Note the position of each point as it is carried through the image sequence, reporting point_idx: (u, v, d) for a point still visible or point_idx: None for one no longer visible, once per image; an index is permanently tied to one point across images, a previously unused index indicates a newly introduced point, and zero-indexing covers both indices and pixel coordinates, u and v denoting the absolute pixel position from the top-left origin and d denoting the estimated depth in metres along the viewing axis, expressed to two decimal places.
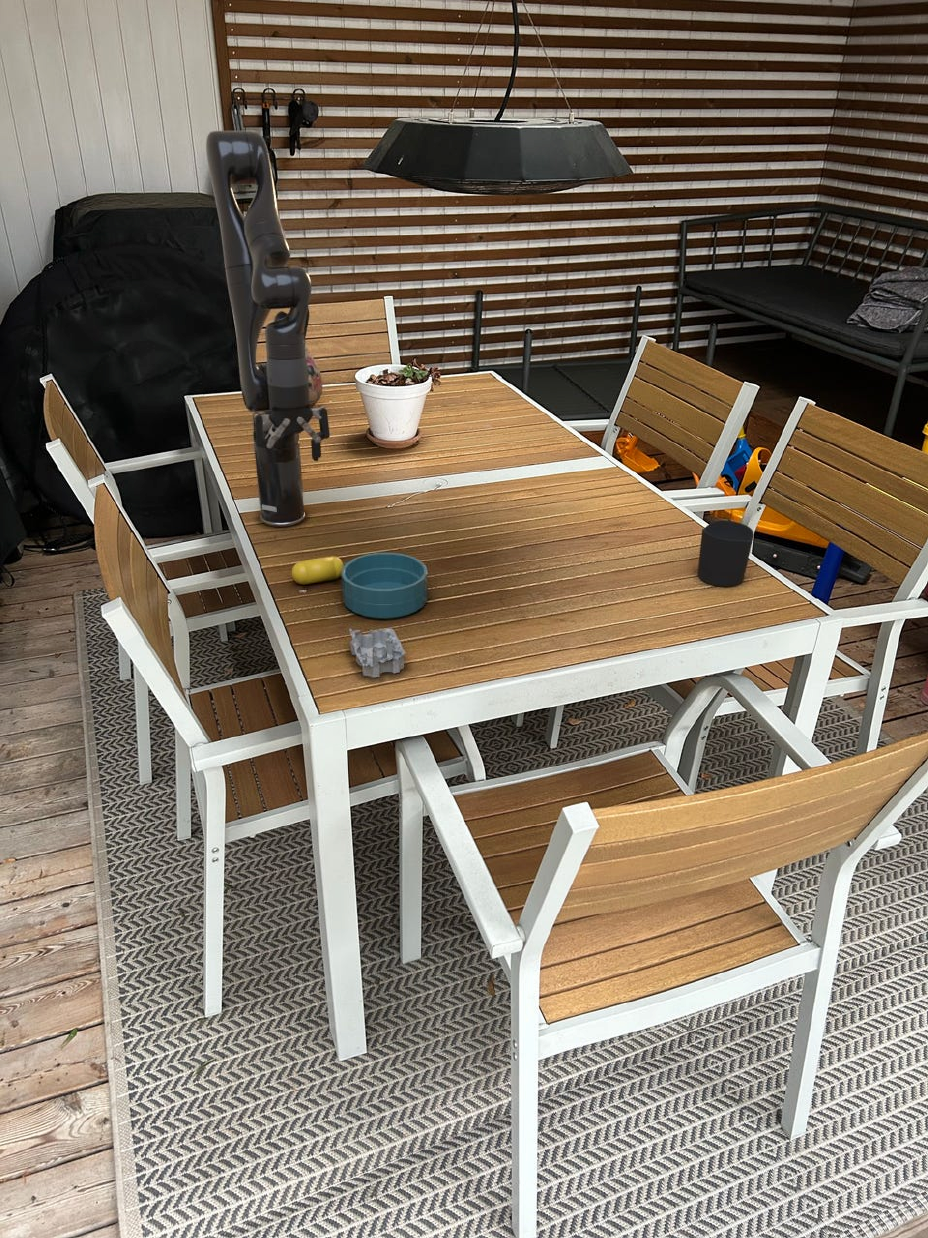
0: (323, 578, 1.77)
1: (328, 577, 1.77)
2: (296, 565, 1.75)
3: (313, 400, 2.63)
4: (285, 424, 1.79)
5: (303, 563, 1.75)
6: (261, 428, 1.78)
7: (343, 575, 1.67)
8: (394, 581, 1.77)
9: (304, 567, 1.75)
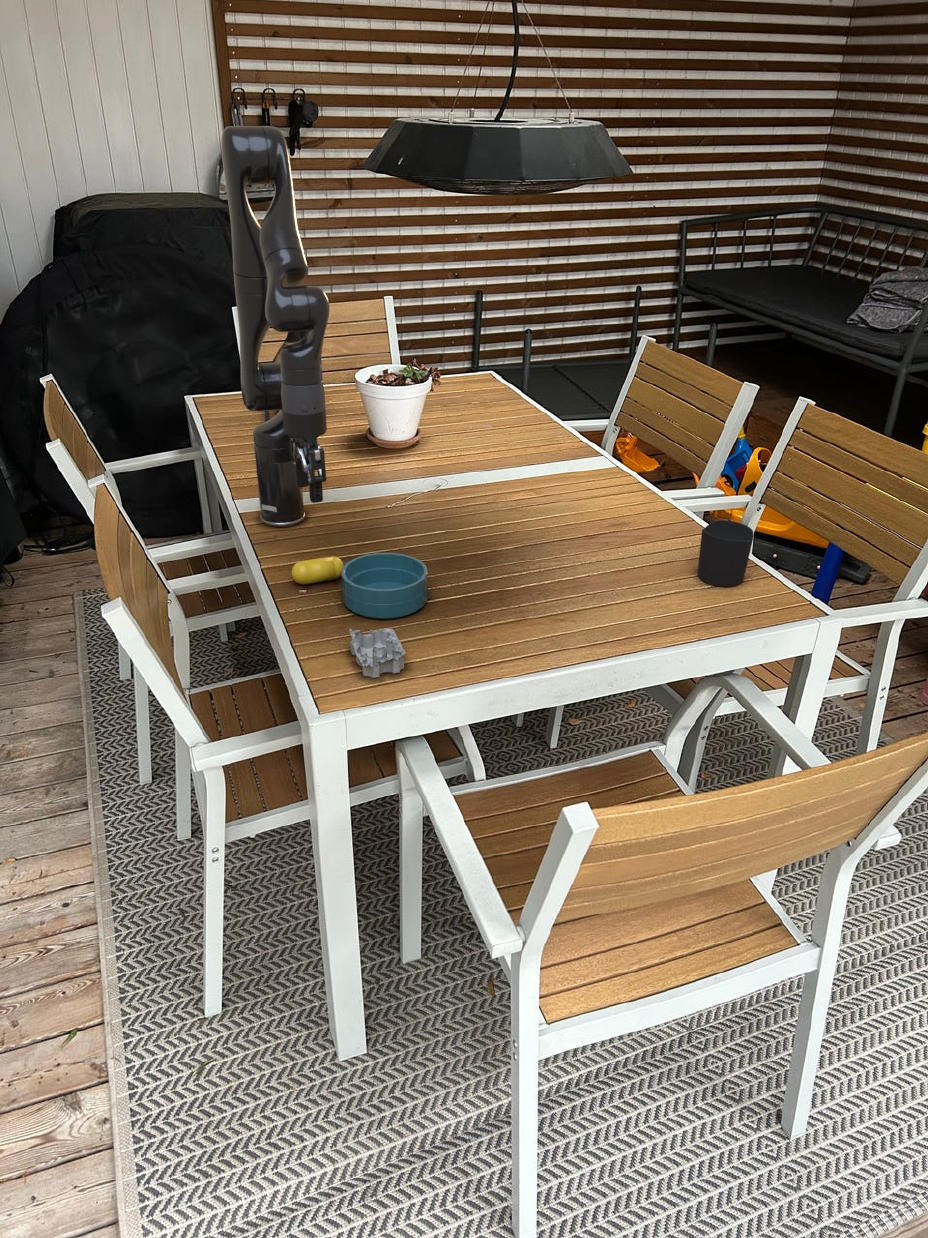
0: (323, 578, 1.77)
1: (328, 577, 1.77)
2: (296, 565, 1.75)
3: None
4: (293, 448, 1.70)
5: (303, 563, 1.75)
6: (291, 443, 1.74)
7: (343, 575, 1.67)
8: (394, 581, 1.77)
9: (304, 567, 1.75)
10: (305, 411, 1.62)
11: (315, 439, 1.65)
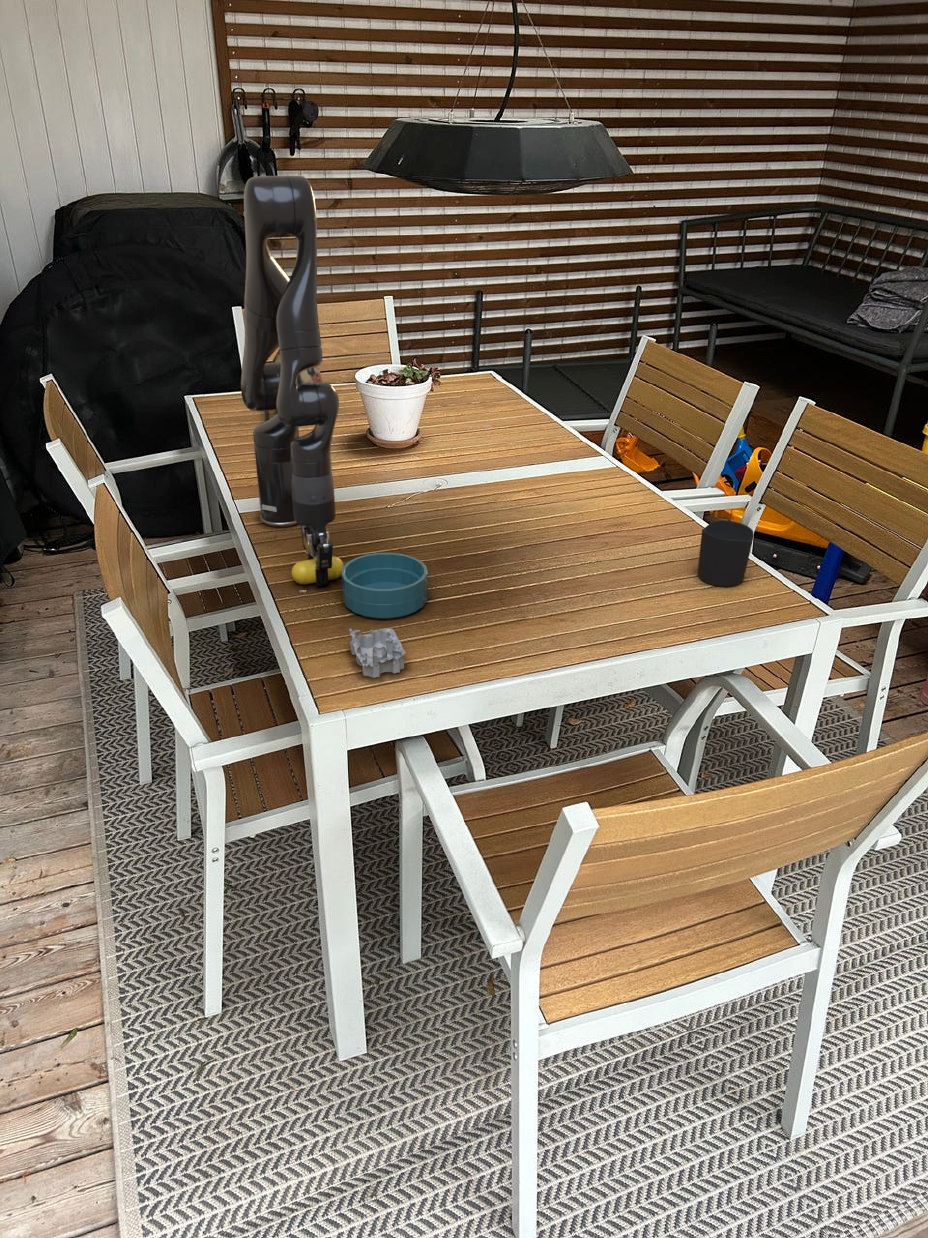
0: None
1: (328, 577, 1.77)
2: (296, 565, 1.75)
3: None
4: (303, 533, 1.74)
5: (303, 563, 1.75)
6: (302, 531, 1.78)
7: (343, 575, 1.67)
8: (394, 581, 1.77)
9: (304, 567, 1.75)
10: (314, 501, 1.67)
11: (324, 527, 1.70)
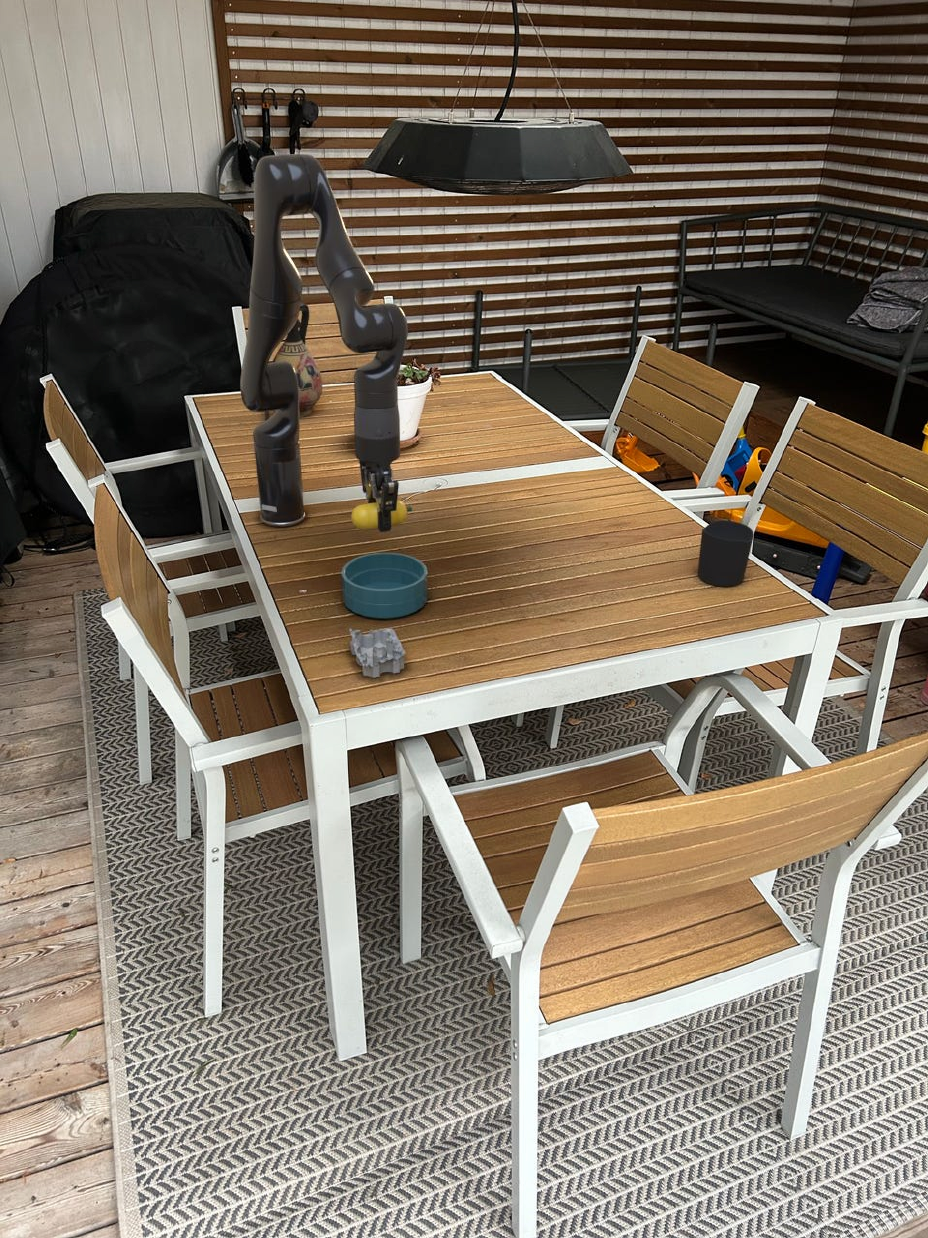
0: None
1: None
2: (357, 508, 1.62)
3: (313, 400, 2.63)
4: (364, 473, 1.61)
5: (364, 506, 1.62)
6: (362, 473, 1.65)
7: (343, 575, 1.67)
8: (394, 581, 1.77)
9: (366, 510, 1.62)
10: (380, 436, 1.54)
11: (389, 465, 1.57)
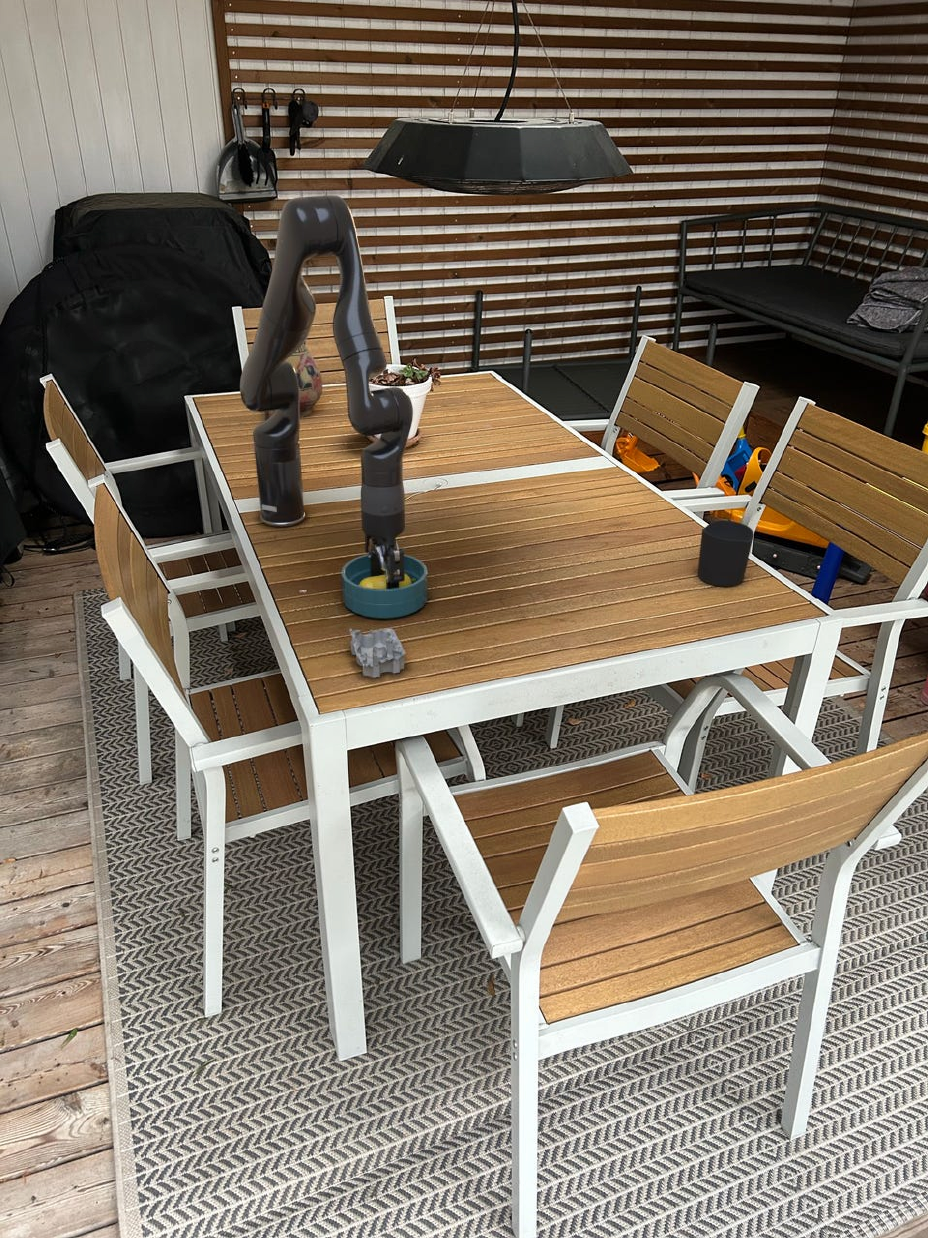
0: None
1: None
2: (363, 582, 1.68)
3: (313, 400, 2.63)
4: (370, 544, 1.68)
5: (370, 580, 1.68)
6: (366, 536, 1.72)
7: (343, 575, 1.67)
8: None
9: (372, 584, 1.68)
10: (385, 512, 1.60)
11: (394, 538, 1.63)
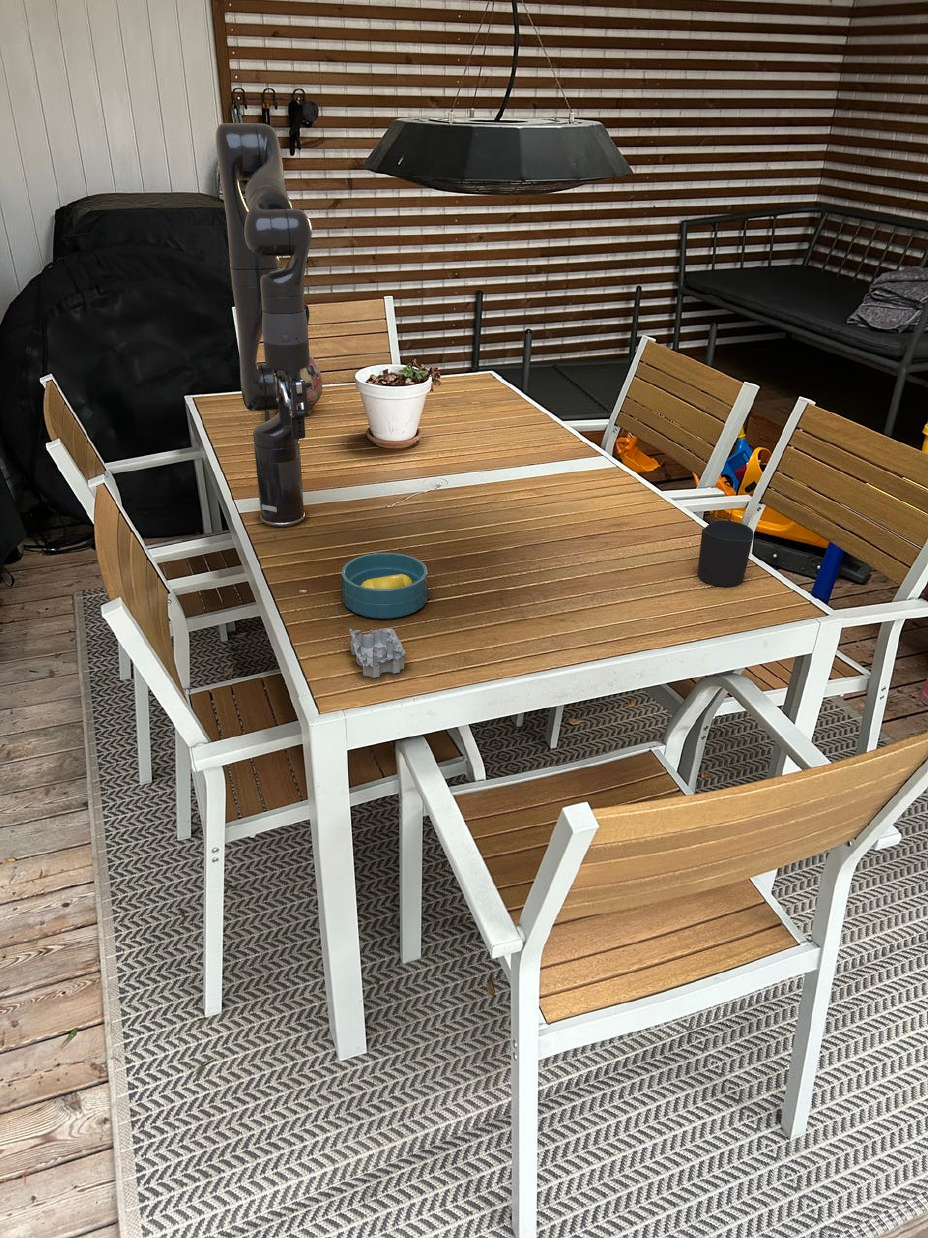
0: None
1: None
2: (365, 586, 1.67)
3: (313, 400, 2.63)
4: (275, 382, 1.64)
5: (373, 584, 1.67)
6: (274, 378, 1.68)
7: (343, 575, 1.67)
8: None
9: None
10: (286, 341, 1.56)
11: (297, 372, 1.59)
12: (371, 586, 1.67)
